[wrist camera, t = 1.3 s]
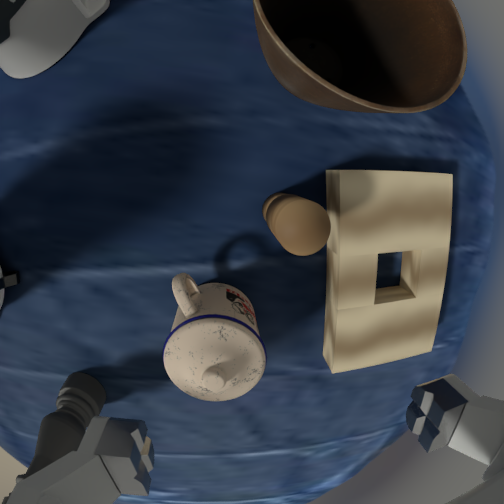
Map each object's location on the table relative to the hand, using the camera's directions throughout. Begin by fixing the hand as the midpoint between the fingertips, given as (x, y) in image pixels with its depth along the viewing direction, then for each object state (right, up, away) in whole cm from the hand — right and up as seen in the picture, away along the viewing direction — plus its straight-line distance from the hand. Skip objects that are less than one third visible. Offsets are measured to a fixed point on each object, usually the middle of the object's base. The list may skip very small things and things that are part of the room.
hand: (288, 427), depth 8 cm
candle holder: (-24, -14, +28) cm, 39 cm away
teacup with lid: (-6, -1, +26) cm, 27 cm away
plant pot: (+5, +24, +20) cm, 32 cm away
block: (+14, +3, +26) cm, 30 cm away
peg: (+2, +9, +24) cm, 26 cm away
